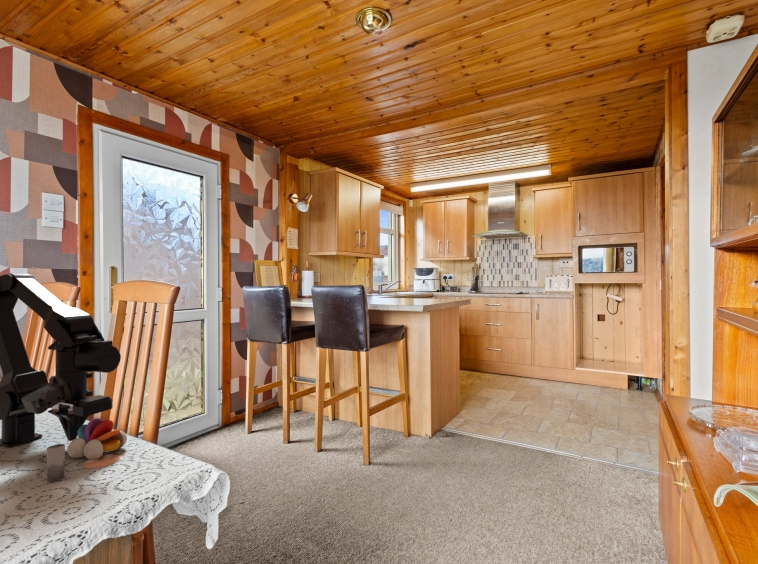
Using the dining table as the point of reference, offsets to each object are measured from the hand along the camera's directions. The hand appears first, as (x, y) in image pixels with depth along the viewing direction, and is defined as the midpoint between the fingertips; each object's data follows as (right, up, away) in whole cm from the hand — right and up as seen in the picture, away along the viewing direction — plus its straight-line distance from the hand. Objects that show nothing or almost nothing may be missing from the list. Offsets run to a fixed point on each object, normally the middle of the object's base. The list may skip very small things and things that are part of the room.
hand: (71, 440), depth 88 cm
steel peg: (+8, -2, -14) cm, 16 cm away
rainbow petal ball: (+8, -2, -3) cm, 9 cm away
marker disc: (+12, -2, -7) cm, 13 cm away
